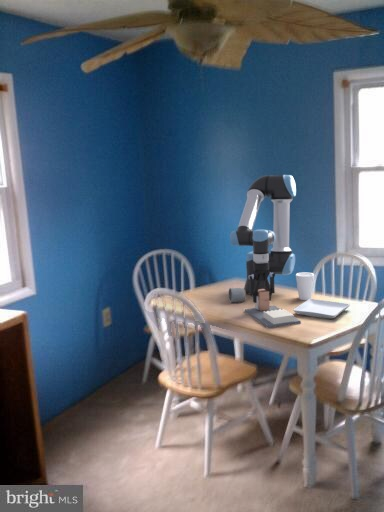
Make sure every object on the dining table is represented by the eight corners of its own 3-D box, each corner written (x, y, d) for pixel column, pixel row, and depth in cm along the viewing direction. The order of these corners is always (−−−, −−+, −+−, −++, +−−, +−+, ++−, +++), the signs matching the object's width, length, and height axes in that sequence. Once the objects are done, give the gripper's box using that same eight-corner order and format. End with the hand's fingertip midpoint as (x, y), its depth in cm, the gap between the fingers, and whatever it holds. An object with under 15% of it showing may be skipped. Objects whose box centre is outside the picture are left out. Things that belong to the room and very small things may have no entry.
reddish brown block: (255, 307, 263) (254, 289, 262) (264, 306, 265) (264, 288, 263) (260, 310, 258) (259, 292, 256) (269, 309, 259) (269, 291, 257)
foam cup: (310, 301, 275) (310, 276, 273) (293, 299, 280) (293, 275, 277) (316, 296, 283) (316, 273, 281) (299, 295, 288) (299, 271, 285)
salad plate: (335, 322, 241) (335, 315, 240) (292, 316, 253) (291, 309, 252) (350, 310, 258) (350, 303, 257) (309, 305, 270) (309, 298, 269)
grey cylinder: (246, 302, 278) (246, 288, 277) (231, 304, 277) (231, 289, 276) (241, 298, 289) (241, 284, 287) (227, 299, 287) (226, 285, 286)
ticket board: (244, 311, 263) (244, 303, 262) (274, 307, 267) (274, 299, 266) (268, 328, 236) (267, 318, 235) (300, 323, 241) (300, 314, 240)
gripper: (246, 265, 251) (248, 312, 255) (281, 261, 256) (282, 307, 260) (240, 262, 258) (242, 308, 262) (275, 258, 263) (275, 304, 267)
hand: (262, 308), depth 261 cm, fingers closed on reddish brown block, 5 cm apart
